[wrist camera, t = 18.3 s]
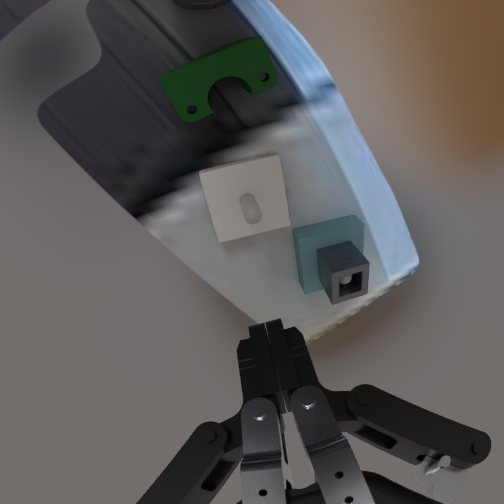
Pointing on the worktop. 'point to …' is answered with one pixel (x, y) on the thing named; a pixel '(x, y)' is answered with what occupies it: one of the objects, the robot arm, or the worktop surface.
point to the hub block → (322, 237)
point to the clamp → (218, 75)
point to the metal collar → (342, 271)
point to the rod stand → (246, 197)
